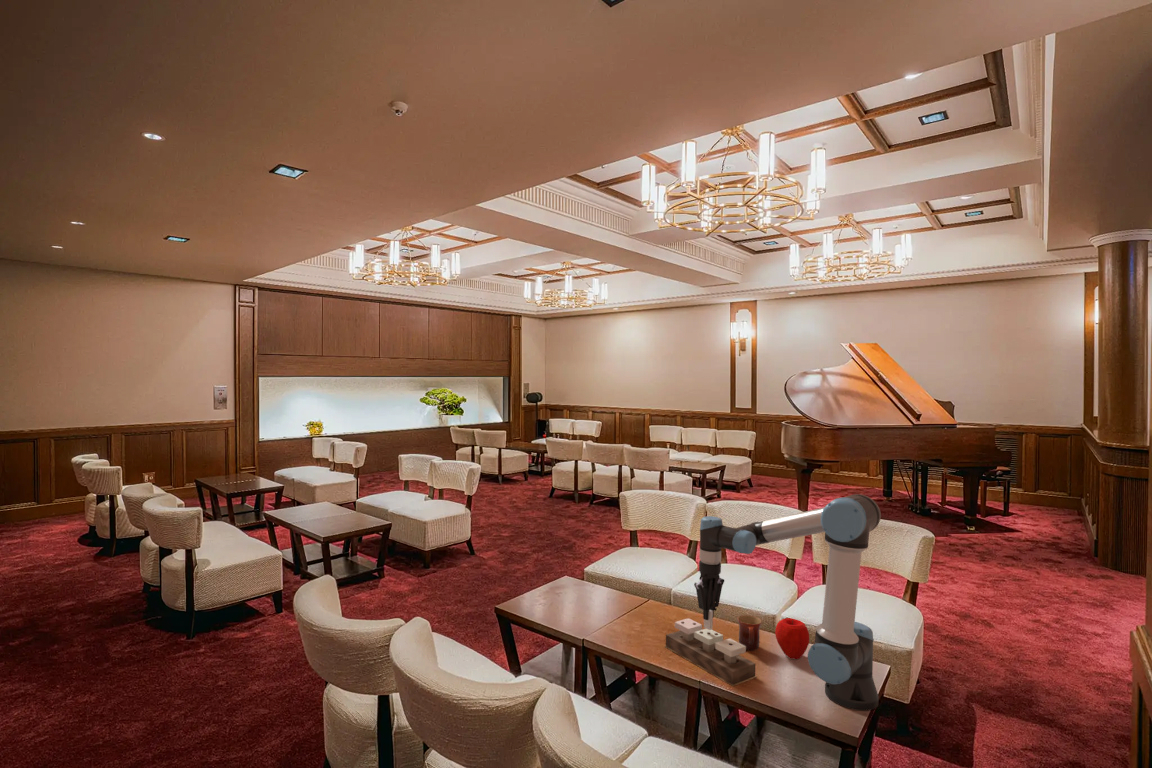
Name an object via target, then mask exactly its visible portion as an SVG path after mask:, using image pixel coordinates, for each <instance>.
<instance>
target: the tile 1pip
mask: <svg viewBox="0 0 1152 768" xmlns="http://www.w3.org/2000/svg"><path fill="white" fill-rule="evenodd" d="M715 649H717V650H719V651H721V652H722V653H724V661H725V662H727V663H729V664H734V663H736V655H741V654H745V653H746V651H747V650H746V646H744V645H742V644H740V643H739V641H736V640H734V639H732V638H726V639H723V641H720V642H717V643H716V645H715Z"/></svg>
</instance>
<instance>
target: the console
mask: <svg viewBox="0 0 1152 768" xmlns="http://www.w3.org/2000/svg"><path fill="white" fill-rule="evenodd" d="M715 645H716V643H715V644H714V651H712V652H707V651H705V650H703V642H702V641H700V640H698V639H696V638H694V640H691V641H686V640H685V639H683V631H681V630H678V631H675V632H670V633H667V634H665V645H664V648H666V649H668V650H669V651H671V652H673V653H674V654H676V655H678V656H680V657H682V658H683V659H685V660H686V661H689V662H690V663H691V664H693V665H695V666H697V667H699V668H700V669H702V670H704V671H706V672H707V673H709V674H711V675H712V676H714V677H715V678H717V679H719V680H721V681H722V682H724V683H725V684H728V685H730V686H731V687H735V686H737V685H740V684H743V683H745V682H748V681H751V680H754V679H755V678H757V675H756V667H757V666H756V663H755V662H754V661H752V660H749V659H748V658H746V657H744V656H742V655H741V654H739V655H736V663H734V664H729V663H727V662H725V661H724V653H722V652H721V651H719V650H717V649H715Z"/></svg>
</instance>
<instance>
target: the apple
mask: <svg viewBox="0 0 1152 768" xmlns="http://www.w3.org/2000/svg"><path fill="white" fill-rule="evenodd" d="M774 636H775V639H776V641H777V643H778V645H779V647H780V649H781V651H782V652H783V654H784V655H785V656H786V657H787V658H789V659H791V660H798V659H799V660H800V658H802V657H803V656H804V654H805V653H806V651H807V649H808V647H809V646H810V645H809V644H810V633H809V629H808V627H807V625H806V624H805V623H804V622H803V621H801V620H800V619H795V618H792V617H785V618H782V619H781V620H779V621H778V622H777V623H776V627H775V631H774Z"/></svg>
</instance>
